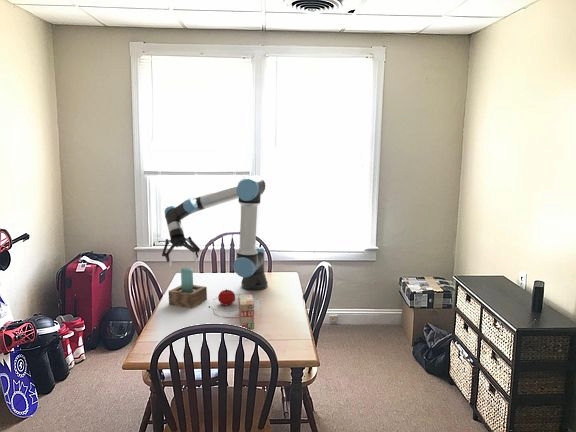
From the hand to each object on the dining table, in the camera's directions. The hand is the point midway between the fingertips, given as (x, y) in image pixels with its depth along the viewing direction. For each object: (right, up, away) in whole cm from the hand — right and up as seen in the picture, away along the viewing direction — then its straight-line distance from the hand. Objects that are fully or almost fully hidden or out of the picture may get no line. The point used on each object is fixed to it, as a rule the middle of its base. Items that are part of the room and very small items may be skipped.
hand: (184, 264), depth 265 cm
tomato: (+23, -20, -3) cm, 31 cm away
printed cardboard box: (+35, -24, -25) cm, 49 cm away
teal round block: (+2, -14, -1) cm, 14 cm away
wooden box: (+2, -20, 0) cm, 20 cm away
